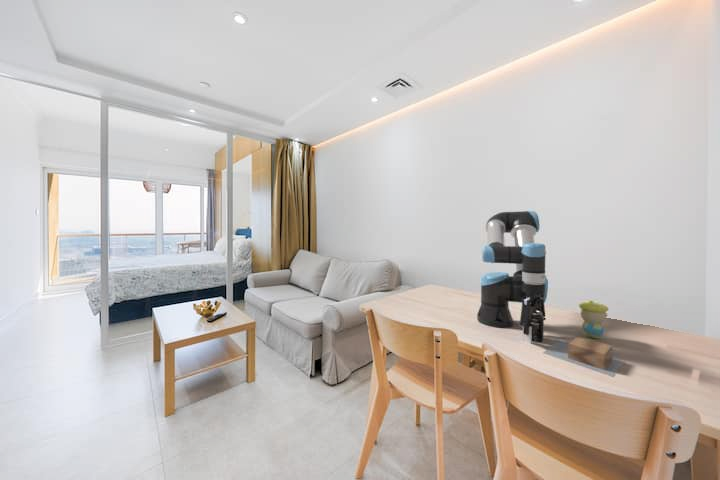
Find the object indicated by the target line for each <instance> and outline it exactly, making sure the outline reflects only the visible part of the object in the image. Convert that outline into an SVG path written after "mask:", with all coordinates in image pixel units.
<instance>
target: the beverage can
mask: <svg viewBox="0 0 720 480" xmlns="http://www.w3.org/2000/svg"><path fill="white" fill-rule="evenodd" d="M544 318H545V317H543V315H542V312H540V311H538V310H534V312H533V316H532V321H531V325H530V326H532V342H533V343H542V342H544V336H545V335H544V334H545V333H544V330H545V329H544V326H545V323H544V321H545V320H544Z"/></svg>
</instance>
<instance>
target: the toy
mask: <svg viewBox="0 0 720 480" xmlns="http://www.w3.org/2000/svg"><path fill="white" fill-rule="evenodd" d="M578 307H579V308H580V309H581V310H580V316H581V318H582V319H583V323H582V330H583V332H584V333H585V335H586V336H587V337H589V338H591V339H598V338H601V337H602V336H603V334H604V333H605V329H604V327H603V325H602V324H604V323H605V322H606V321H607V317H608V313H606V312H608V311H609V307H608V306H607V305H605V304H603V303H600V302H594V301H593V300H588V301H585V302H580V303H579V305H578Z"/></svg>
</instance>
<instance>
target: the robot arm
mask: <svg viewBox="0 0 720 480" xmlns="http://www.w3.org/2000/svg"><path fill="white" fill-rule="evenodd" d="M540 225H541V224H540V219H539V215H538V213H537V211H534V210H524V211H503V212H499V213H496V214H494V215H492V216H491V217H490V218H489V219H488V220H487V222H486V224H485V230H486V231H485V232H486V233H487V242H486V243H487V245H484V246H483V247H482V253H481V255H482V259H481V260H482V262H483V263H489V264H490V263H491V264H514V265H515V267H516V271H515V272H513V274H512V276H511V275H510V274H509V273H508V272H501V271H499V272H498V271H497V272H490V273H489V272H487V273H485V274H483V275H482V276H481V279H480V286H481V287H480V295H481V296H480V306H479V310H478V312H477V317H476V318H477V319H476V320H477V321H478V322H479V323H480V324H483V325H486V326H489V327H495V328H496V327H498V328H507V327H511V326H513V324H514V321H513V320H514V318H513V316H512V312H511V310H510V307H509V302H511V303H520V304H521V312H520V320H519V325H520V326H522V341H523V342H525V343H529V344H532V326H530V325H531V321H532V316H533V312H534V310H538V311H540V312H542V315H543V317H544V321H546V309H545V303H546V301H547V297H548V291H549V289H548V288H549V280H548V278H547V275H546V255H547V251H546V245H545V244H544V243H537V242H536V243H535V238H534V237H535V236H536V234H537V233H538V232H539V231H540ZM505 233H506V234H507V233H508V234H509V233H510V235H511V237H512V238H513V239H514V240H513V241H514V246H513V245H512V246H509V245H508V246H507V245H506V242H505V241H506V240H505Z"/></svg>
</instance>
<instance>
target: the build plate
mask: <svg viewBox="0 0 720 480" xmlns="http://www.w3.org/2000/svg"><path fill="white" fill-rule="evenodd" d="M542 354H545V355H548V356H550V357H553V358H557V359H559V360H562V361H566V362H568V363H571V364H575V365H577V366H580V367H583V368H586V369H589V370H591V371H594V372H598V373H601V374H604V375H607V376H609V377H613V378H614V377H615V375H616V374H617V373H618V371H619V370H620V369H621V367H622V366H623V365H624V364H625V362H626V361H625V360H620V359H618V358H615V357H612V361H611V363H610V364H609V365H608V366H607V367H606V369H605V370H602V369H599V368H596V367H593V366H590V365H587V364H584V363H581V362H578V361H575V360H572V359H569V358H568V344H567V343H564V342H560V341H557V342H556V343H554V344H553V345H552V346H550V347H548V348H547V349H546V350H544V351H543V352H542Z"/></svg>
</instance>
